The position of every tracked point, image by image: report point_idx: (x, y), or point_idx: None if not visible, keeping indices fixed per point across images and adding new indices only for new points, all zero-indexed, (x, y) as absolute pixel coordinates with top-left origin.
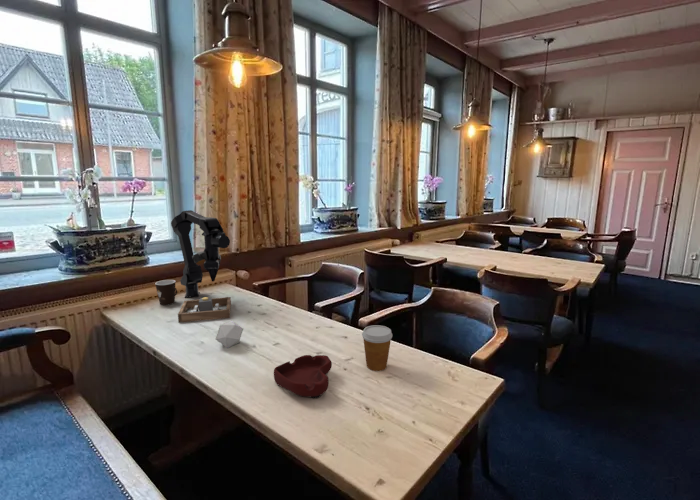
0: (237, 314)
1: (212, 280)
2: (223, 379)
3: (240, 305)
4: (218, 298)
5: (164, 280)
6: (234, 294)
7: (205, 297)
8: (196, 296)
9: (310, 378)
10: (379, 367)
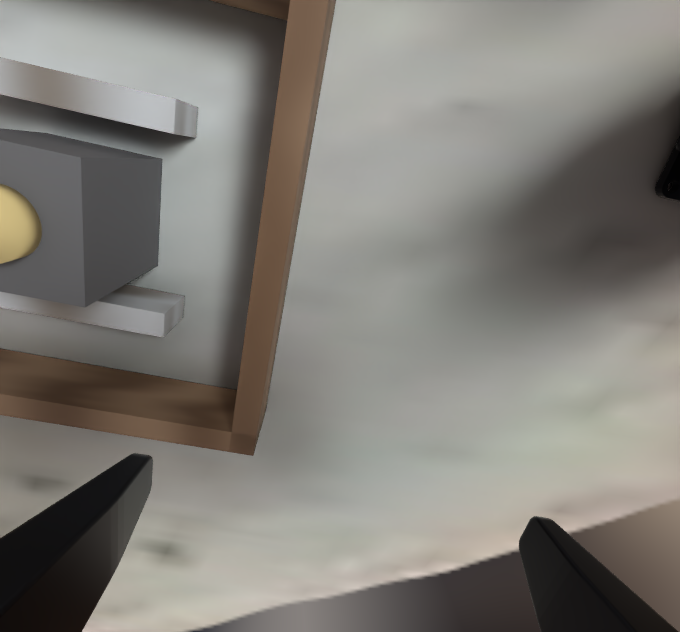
0: None
1: (113, 478)
2: None
3: (209, 461)
4: (251, 360)
5: None
6: (504, 470)
7: (10, 231)
8: (663, 172)
9: None
10: None
